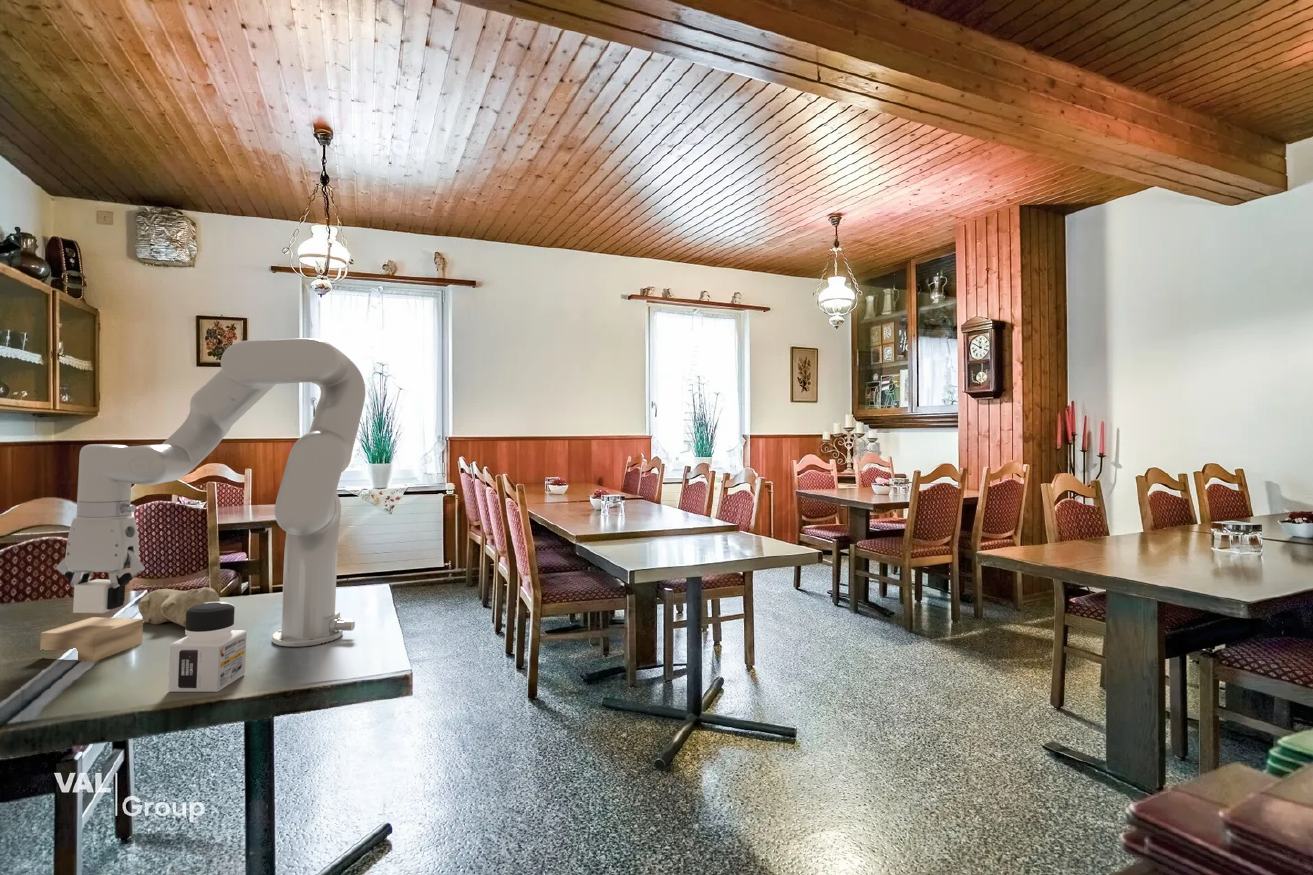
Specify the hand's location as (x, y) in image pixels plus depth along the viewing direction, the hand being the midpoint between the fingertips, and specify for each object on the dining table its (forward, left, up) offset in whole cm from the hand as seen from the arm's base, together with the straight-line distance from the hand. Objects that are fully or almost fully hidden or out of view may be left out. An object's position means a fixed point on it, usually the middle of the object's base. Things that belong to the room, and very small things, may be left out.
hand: (99, 606), depth 117 cm
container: (-29, +16, -8) cm, 34 cm away
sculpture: (-4, -16, -9) cm, 19 cm away
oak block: (0, 0, -8) cm, 8 cm away
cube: (0, 0, -1) cm, 1 cm away
